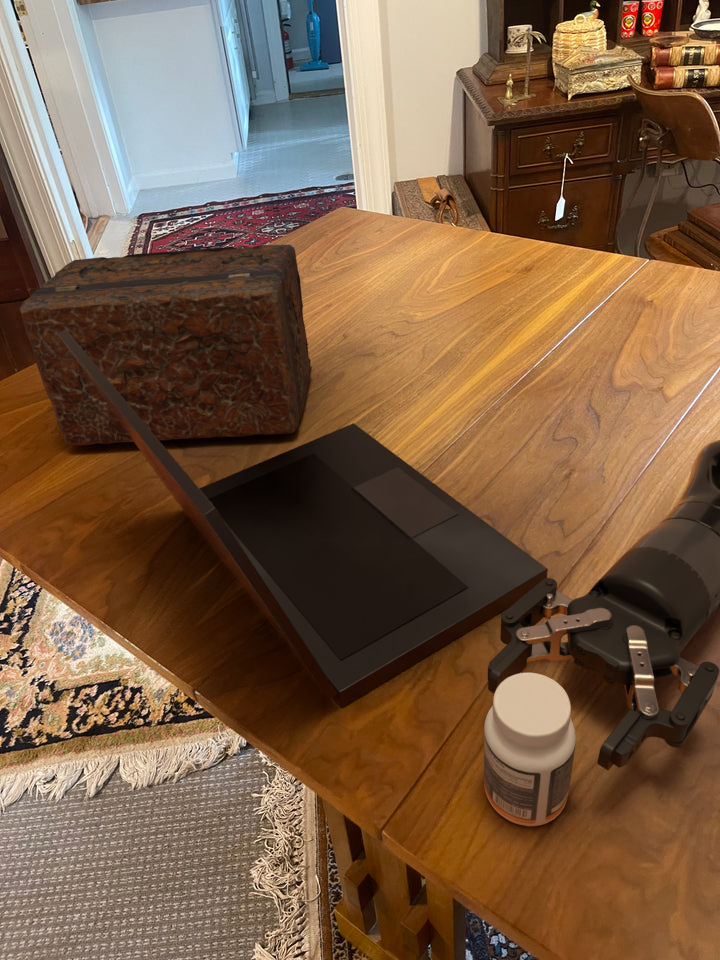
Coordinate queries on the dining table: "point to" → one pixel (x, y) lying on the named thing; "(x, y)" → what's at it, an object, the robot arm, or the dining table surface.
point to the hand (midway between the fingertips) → (545, 721)
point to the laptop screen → (200, 514)
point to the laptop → (368, 556)
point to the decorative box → (175, 342)
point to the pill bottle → (528, 749)
